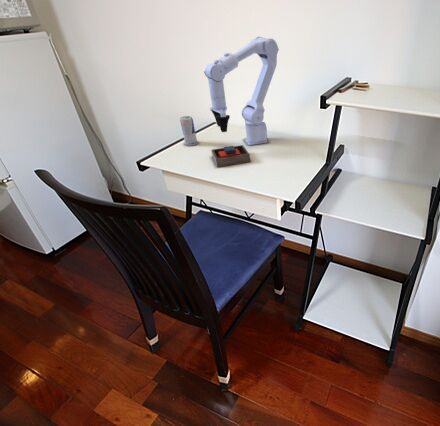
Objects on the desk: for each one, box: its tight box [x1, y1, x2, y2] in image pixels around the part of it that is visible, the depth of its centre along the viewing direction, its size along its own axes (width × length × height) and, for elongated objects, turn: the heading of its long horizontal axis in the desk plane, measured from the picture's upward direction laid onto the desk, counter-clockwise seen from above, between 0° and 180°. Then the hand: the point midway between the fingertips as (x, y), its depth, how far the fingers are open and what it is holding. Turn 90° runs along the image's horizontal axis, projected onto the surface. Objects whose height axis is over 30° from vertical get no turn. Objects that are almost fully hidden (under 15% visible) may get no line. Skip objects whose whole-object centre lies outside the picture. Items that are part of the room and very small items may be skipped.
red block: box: [218, 145, 241, 158], centre depth 126 cm, size 8×5×5 cm
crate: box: [211, 144, 251, 168], centre depth 127 cm, size 14×10×4 cm
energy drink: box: [179, 115, 198, 147], centre depth 137 cm, size 5×5×12 cm
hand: (222, 128), depth 131 cm, fingers open, 7 cm apart
